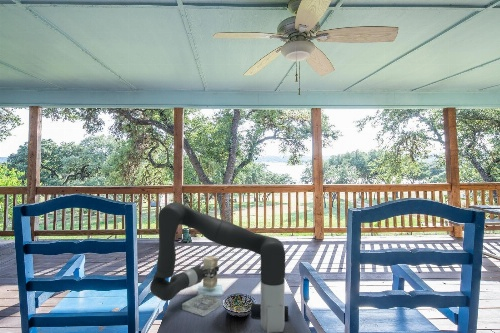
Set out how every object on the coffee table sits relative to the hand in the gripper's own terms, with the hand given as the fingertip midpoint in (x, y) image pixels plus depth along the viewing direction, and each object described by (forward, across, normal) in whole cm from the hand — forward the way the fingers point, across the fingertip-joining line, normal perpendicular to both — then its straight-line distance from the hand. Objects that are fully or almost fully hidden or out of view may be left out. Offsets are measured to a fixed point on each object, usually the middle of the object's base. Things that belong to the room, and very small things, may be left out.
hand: (213, 267), depth 146 cm
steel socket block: (-18, -8, +11) cm, 23 cm away
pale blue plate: (-2, 0, +11) cm, 11 cm away
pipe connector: (-7, -36, +12) cm, 39 cm away
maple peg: (-3, 0, +8) cm, 9 cm away
